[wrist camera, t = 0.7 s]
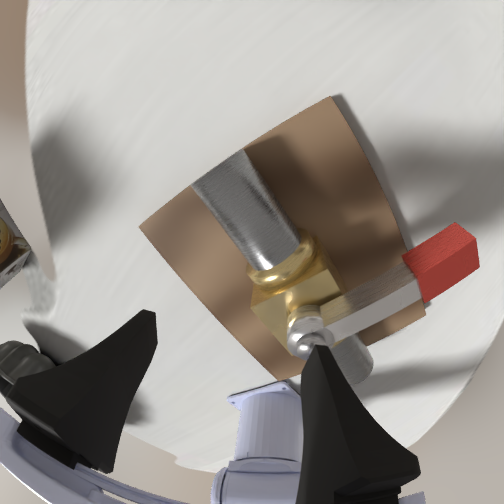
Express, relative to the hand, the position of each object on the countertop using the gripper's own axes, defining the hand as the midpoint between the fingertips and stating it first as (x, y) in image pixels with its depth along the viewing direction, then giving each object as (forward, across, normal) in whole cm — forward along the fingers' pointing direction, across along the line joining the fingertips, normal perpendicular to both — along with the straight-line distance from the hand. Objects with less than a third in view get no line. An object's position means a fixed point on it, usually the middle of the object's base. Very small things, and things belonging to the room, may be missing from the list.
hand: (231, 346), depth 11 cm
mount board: (+10, -4, +1) cm, 11 cm away
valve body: (+10, -4, +1) cm, 11 cm away
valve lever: (+4, -7, -2) cm, 9 cm away
